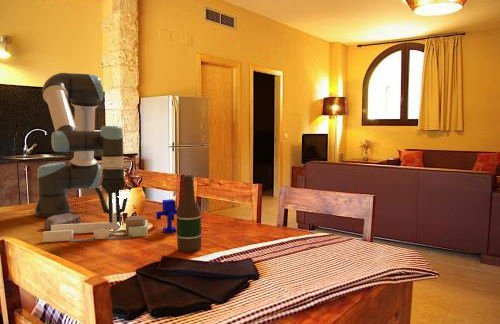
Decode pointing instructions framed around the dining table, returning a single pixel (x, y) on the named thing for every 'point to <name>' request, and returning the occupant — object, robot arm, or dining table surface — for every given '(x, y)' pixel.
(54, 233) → the lane
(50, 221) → the stone
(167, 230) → the figurine
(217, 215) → the dining table surface
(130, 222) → the block
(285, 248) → the dining table surface
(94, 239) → the grey thin bar
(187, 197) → the beer bottle
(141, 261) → the dining table surface
